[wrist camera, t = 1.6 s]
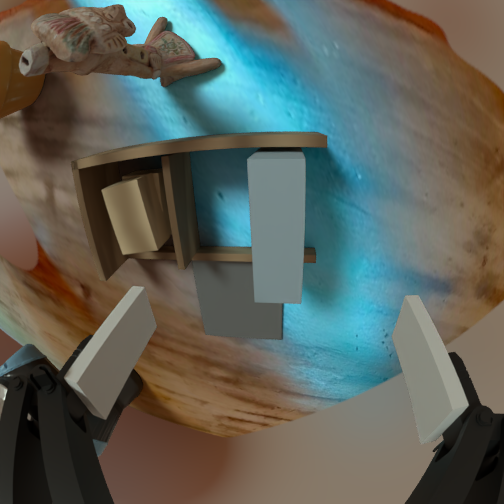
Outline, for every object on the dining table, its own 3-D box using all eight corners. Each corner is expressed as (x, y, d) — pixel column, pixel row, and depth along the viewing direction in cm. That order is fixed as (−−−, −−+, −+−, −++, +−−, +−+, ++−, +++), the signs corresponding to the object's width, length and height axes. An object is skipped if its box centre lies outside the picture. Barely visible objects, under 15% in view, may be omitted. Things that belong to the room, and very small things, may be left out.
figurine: (224, 65, 25) (128, 2, 7) (165, 104, 28) (31, 110, 10) (180, 7, 21) (77, -62, 4) (128, 47, 24) (2, 23, 7)
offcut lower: (144, 227, 36) (132, 238, 33) (136, 170, 32) (121, 176, 29) (177, 227, 35) (166, 238, 32) (170, 167, 31) (158, 173, 28)
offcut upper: (136, 242, 33) (122, 254, 30) (118, 182, 29) (101, 189, 26) (170, 237, 32) (157, 250, 29) (152, 172, 28) (136, 179, 25)
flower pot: (40, 29, 21) (-16, 25, 10) (68, 70, 26) (0, 71, 14) (4, 91, 27) (-48, 101, 15) (27, 137, 31) (-31, 155, 19)
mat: (206, 333, 43) (205, 334, 42) (192, 256, 36) (191, 257, 36) (281, 337, 41) (281, 339, 41) (282, 258, 35) (282, 259, 34)
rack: (129, 251, 38) (100, 280, 31) (110, 149, 31) (70, 161, 24) (314, 255, 34) (319, 292, 27) (317, 132, 27) (327, 135, 20)
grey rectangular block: (266, 243, 34) (254, 302, 24) (263, 145, 29) (247, 159, 18) (299, 243, 34) (301, 303, 23) (299, 144, 28) (305, 159, 18)
